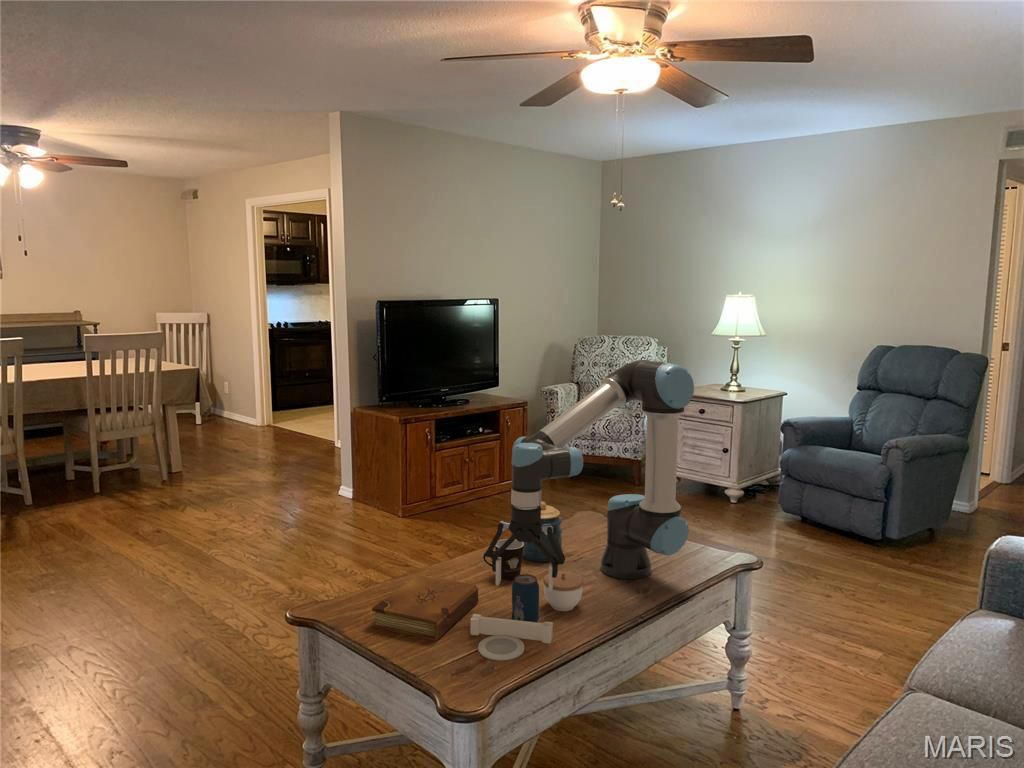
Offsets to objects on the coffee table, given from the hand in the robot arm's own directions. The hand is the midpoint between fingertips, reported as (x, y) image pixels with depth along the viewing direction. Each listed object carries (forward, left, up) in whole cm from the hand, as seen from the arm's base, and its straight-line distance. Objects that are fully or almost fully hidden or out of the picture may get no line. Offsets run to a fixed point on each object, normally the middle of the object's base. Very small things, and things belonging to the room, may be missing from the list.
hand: (524, 586), depth 182 cm
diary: (+26, +1, -11) cm, 28 cm away
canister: (+4, -47, -10) cm, 49 cm away
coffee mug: (+12, -28, -10) cm, 32 cm away
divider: (+2, +7, -10) cm, 12 cm away
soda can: (0, 0, -10) cm, 10 cm away
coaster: (+3, +14, -10) cm, 17 cm away
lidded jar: (-8, -12, -10) cm, 18 cm away
